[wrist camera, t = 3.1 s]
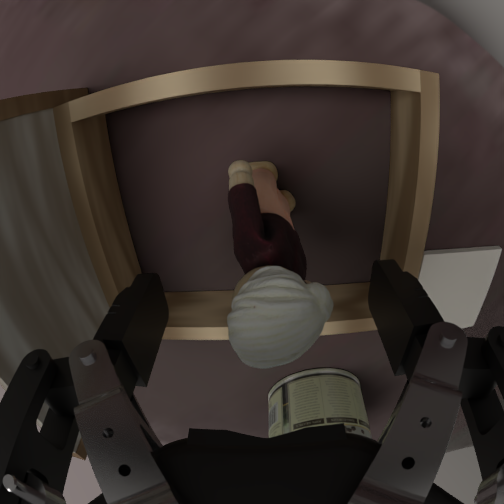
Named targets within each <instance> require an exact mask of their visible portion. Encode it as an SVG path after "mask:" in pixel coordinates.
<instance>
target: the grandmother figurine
mask: <svg viewBox="0 0 504 504" xmlns="http://www.w3.org/2000/svg"><path fill="white" fill-rule="evenodd" d="M228 174H229V177H230V180H229V193H228V203H229V208H230V212H231V216H232V223H233V240H234V253H235V256H236V258H237V260H238V262H239V263H240V265H241V267H242V269H243V271H244V273H245V275H244V276H243V277H242V278H241V280H240V281H239V282H238V284H237V285H236V287H235V290H234V292H233V296H232V304H231V307H232V311H231V312H230V313H229V314H228V316H227V324H228V336H229V341H230V343H231V345H232V347H233V349H234V350H235V352H236V353H237V355H238V356H239V358H240V360H241V361H242V362H243V363H245V364H246V365H249V366H252V367H255V368H271V367H275V366H280V365H285V364H287V363H290V362H292V361H294V360H296V359H298V358H299V357H300V356H301V355H302V354H303V353H305V352H306V351H307V350H308V349H309V348H310V347H311V346H312V345H313V344H314V342H315V341H316V340H317V339H318V337H319V336H320V334H321V333H322V330H323V327H324V324H325V322H326V321H327V320H328V319H329V318H330V316H331V312H332V310H333V300H332V299H331V297H330V293H329V291H328V289H327V288H326V287H325V286H324V285H322V284H320V283H317V282H313V283H311V282H310V281H307V280H305V277H306V270H307V268H306V265H307V264H306V257H305V254H304V251H303V248H302V246H301V243H300V239H299V236H298V233H297V232H296V231H295V230H294V226H293V223H292V220H291V218H290V212H291V211H292V210H293V209H294V207H295V204H296V203H295V199H294V197H293V196H292V194H291V193H290V192H289V191H286V190H279V189H277V184H276V181H277V178H278V173H277V169H276V167H275V165H274V164H273V163H271V162H268V161H261V162H250V163H248V162H246V161H244V160H238V161H235V162H233V163H232V164H231V165H230V167H229V170H228Z"/></svg>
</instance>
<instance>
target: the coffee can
mask: <svg viewBox="0 0 504 504" xmlns="http://www.w3.org/2000/svg"><path fill="white" fill-rule="evenodd" d="M268 403H269V438H271V437H275V436H278V435H282V434H286V433H289V432H292V431H296V430H299V429H302V428H306V427H315V426H324V425H332V424H340V423H344V426H345V432H346V433H354V434H359V435H362V436H366V437H368V438H371V439H372V437H371V432H370V428H369V423H368V419H367V414H366V410H365V406H364V401H363V397H362V393H361V388H360V382H359V380H358V379H357V377H356V376H354V375H353V374H352V373H350V372H348V371H345V370H341V369H336V368H317V369H310V370H305V371H302V372H298V373H295V374H292V375H289V376H287V377H286V378H283V379H282V380H280V381H279V382H277V383H276V384H275V385H274V386H273V387H272V389H271V390H270V392H269V395H268Z"/></svg>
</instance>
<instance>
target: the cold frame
mask: <svg viewBox="0 0 504 504" xmlns="http://www.w3.org/2000/svg"><path fill="white" fill-rule="evenodd" d="M301 86H324V87H353V88H368V89H380V90H390V91H391V145H390V168H389V184H388V196H387V207H386V217H385V226H384V234H383V242H382V249H381V256H380V260H389V259H394V260H395V261H396V262H397V264H398V265H399V267H400V268H401V270H402V271H403V272H404V271H408V272H409V273H410V274H412V275H413V276H414V277H416V278H417V279H418V275H419V271H420V266H421V262H422V258H423V253H424V248H425V243H426V238H427V233H428V227H429V221H430V215H431V209H432V202H433V195H434V187H435V178H436V168H437V157H438V142H439V116H440V91H439V74H438V73H433V72H428V71H423V70H417V69H411V68H405V67H398V66H391V65H383V64H374V63H364V62H352V61H334V60H275V61H257V62H245V63H234V64H225V65H217V66H209V67H202V68H196V69H190V70H184V71H179V72H173V73H168V74H163V75H159V76H154V77H150V78H146V79H141V80H137V81H133V82H130V83H126V84H122V85H119V86H115V87H112V88H108V89H105V90H102V91H99V92H96V93H92V94H89V95H88V88H78V89H67V90H58V91H50V92H42V93H36V94H29V95H23V96H18V97H12V98H7V99H2V100H0V385H1V386H2V387H3V389H4V390H5V391H6V390H7V388H8V386H9V384H10V382H11V380H12V378H13V376H14V374H15V372H16V370H17V368H18V367H19V365H20V363H21V361H22V360H23V358H24V357H25V356H26V355H27V354H28V353H30V352H31V351H33V350H36V349H44V350H46V351H47V352H48V353H49V354H50V356H51V357H52V359H58V358H64V357H69V356H70V354H71V352H72V350H73V349H74V348H75V347H76V346H77V345H79V344H80V343H82V342H84V341H87V340H93V338H94V336H95V334H96V332H97V330H98V328H99V327H100V325H101V323H102V321H103V319H104V317H105V316H106V314H108V310H109V309H110V307H111V306H112V303H113V302H114V300H115V298H116V296H117V295H118V294H119V293H120V292H121V291H123V290H124V289H125V288H126V287H130V286H131V284H132V282H133V281H134V279H135V277H136V275H137V274H142V272H141V269H140V266H139V262H138V259H137V256H136V252H135V249H134V245H133V242H132V238H131V235H130V231H129V227H128V223H127V219H126V216H125V212H124V208H123V203H122V199H121V195H120V191H119V186H118V182H117V177H116V172H115V168H114V163H113V158H112V152H111V147H110V142H109V136H108V130H107V124H106V117H105V114H108V113H111V112H115V111H119V110H123V109H127V108H131V107H136V106H140V105H144V104H149V103H154V102H159V101H164V100H169V99H175V98H180V97H187V96H193V95H200V94H207V93H215V92H223V91H232V90H243V89H255V88H271V87H301ZM324 286H325V287H326V288H327V289H328V291H329V293H330V297H331V299H332V300H333V310H332V312H331V316H330V318H329V319H328V320H327V321H326V322H325V324H324V327H323V330H322V333H321V334H320V335H331V334H342V333H352V332H362V331H370V330H377V327H376V325H375V322H374V320H373V317H372V315H371V312H370V310H369V305H368V292H369V286H370V282H364V283H351V284H338V285H324ZM233 292H234V290H227V291H196V292H164V294H165V297H166V300H167V304H168V308H169V319H168V322H167V325H166V328H165V331H164V334H163V337H162V339H175V340H229V336H228V324H227V316H228V314H229V313H230V312H231V311H232V307H231V304H232V296H233ZM48 409H49V406H48V405H47V404H46V403H45V402H44V403H43V406H42V408H41V411H40V413H39V416H38V418H37V422H36V424H37V425H38V426H40V427H42V425H43V422H44V419H45V417H46V414H47V411H48ZM72 456H74V457H77V458H80V459H83V460H85V459H86V457H87V452H86V449H85V447H84V444H83V441H82V437H81V434H80V431H79V434H78V437H77V440H76V444H75V447H74V451H73V454H72Z"/></svg>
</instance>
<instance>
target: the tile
mask: <svg viewBox="0 0 504 504" xmlns="http://www.w3.org/2000/svg"><path fill="white" fill-rule="evenodd" d="M501 251H502V248H501V247H500V246H486V247H472V248H458V249H443V250H428V251H424V253H423V258H422V262H421V266H420V271H419V275H418V281H419V282H420V284H421V285H422V287H423V289H424V290H425V291H426V293H427V294H428V297H430V299H431V300H432V302H433V303H434V305H435V307H436V308H437V310H438V311H439V313H440V315H441V316H442V318H443V320H444V321H445V322H450V323H453V324H455V325H457V326H459V327H460V328H466V327H470V326H473V325H474V323H475V321H476V319H477V316H478V314H479V312H480V309H481V307H482V305H483V302H484V300H485V297H486V295H487V292H488V289H489V287H490V284H491V281H492V279H493V276H494V273H495V270H496V267H497V264H498V261H499V258H500V254H501Z"/></svg>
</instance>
